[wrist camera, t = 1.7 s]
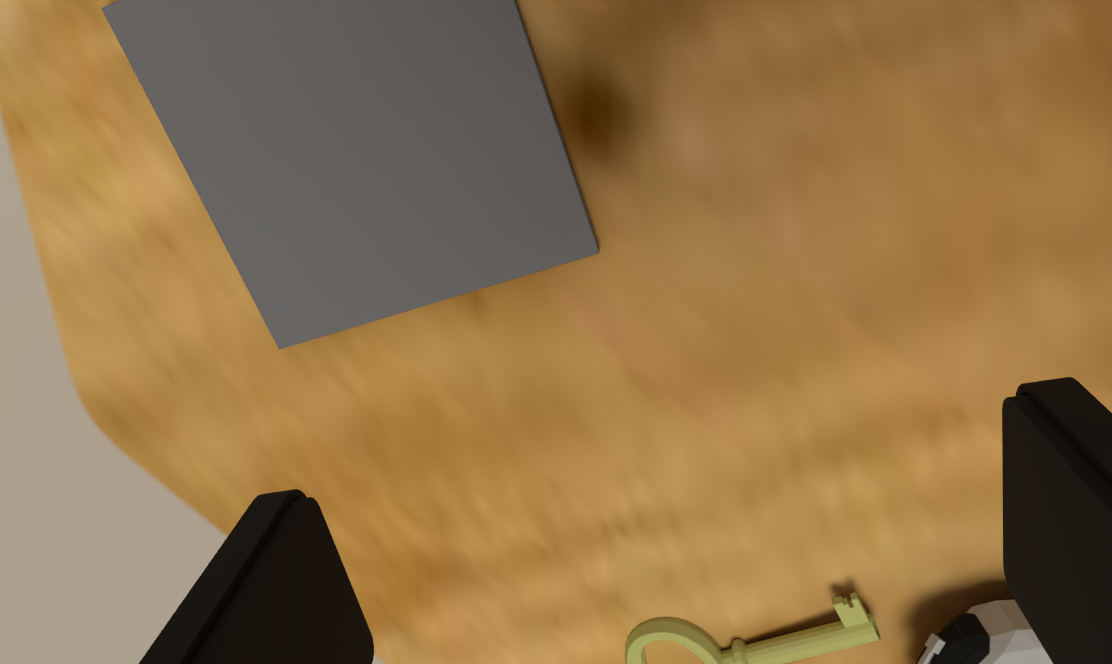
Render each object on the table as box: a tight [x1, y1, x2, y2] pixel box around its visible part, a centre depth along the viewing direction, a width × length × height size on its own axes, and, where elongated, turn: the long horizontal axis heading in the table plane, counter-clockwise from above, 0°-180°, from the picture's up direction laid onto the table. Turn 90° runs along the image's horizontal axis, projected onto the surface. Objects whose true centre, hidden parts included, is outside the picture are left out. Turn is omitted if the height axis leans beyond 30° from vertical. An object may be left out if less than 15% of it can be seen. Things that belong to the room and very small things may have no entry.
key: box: [625, 592, 881, 664], centre depth 39 cm, size 7×12×2 cm, turn 137°
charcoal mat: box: [102, 0, 600, 349], centre depth 30 cm, size 14×14×1 cm
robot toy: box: [916, 600, 1053, 664], centre depth 36 cm, size 12×4×15 cm
